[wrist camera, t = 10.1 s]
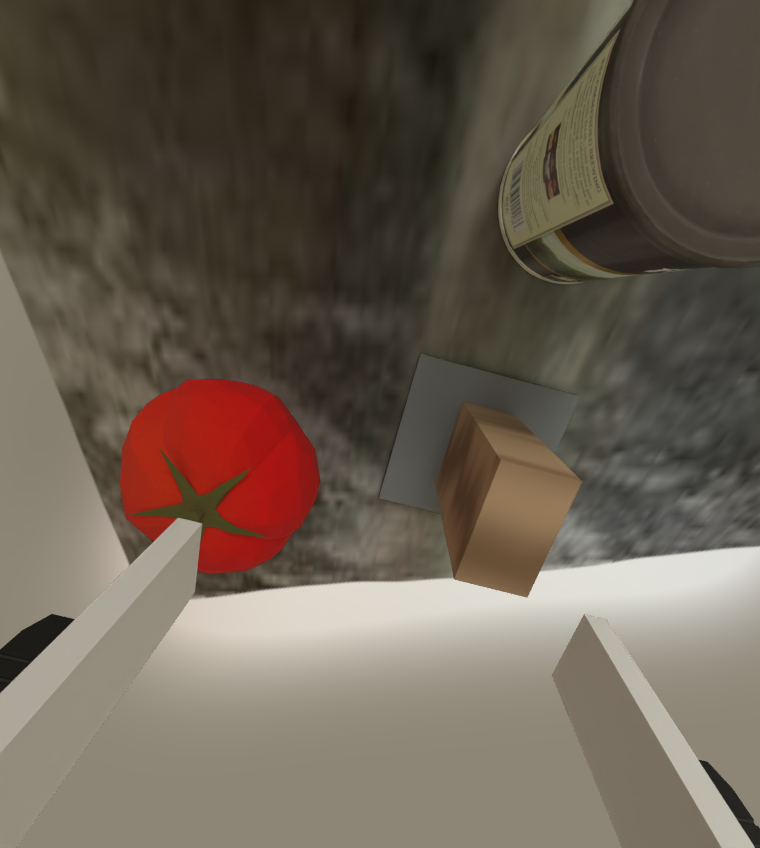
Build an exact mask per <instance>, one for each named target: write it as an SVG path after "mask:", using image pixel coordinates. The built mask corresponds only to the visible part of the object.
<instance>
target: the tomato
mask: <svg viewBox="0 0 760 848" xmlns="http://www.w3.org/2000/svg"><path fill="white" fill-rule="evenodd" d="M319 484H320V476H319V470H318V464H317V458H316V452H315V449H314V447H313V446H312V444H311V443H310V441H309V440H308V438H307V437H306V435H305V434H304V432H303V431H302V429H301V428H300V426H299V425H298V423H297V422H296V420H295V419H294V418H293V416H292V415H291V414H290V412H289V411H288V409H287V408H286V407H285V405H284V404H283V402H282V401H281V400H280V398H279V397H277V396H275V395H273V394H271V393H269V392H268V391H266V390H264V389H262V388H260V387H257V386H254V385H250V384H247V383H243V382H236V381H230V380H225V379H202V380H186V381H185V382H184V383H182V384H181V385H180V386H179V387H178V388H176V389H173V390H171V391H168V392H165V393H163V394H161V395H160V396H158V397H156V398H155V399H153V400H152V401H150V402H149V403H147V404H146V406H145V407H144V408H143V409H142V410H141V411H140V413H139V414H138V415H137V416H136V417H135V418H134V420H133V421H132V423H131V426H130V429H129V431H128V434H127V437H126V440H125V443H124V445H123V448H122V463H121V478H120V488H121V497H122V501H123V506H124V511H125V516H126V519H127V520H129V521H130V522H131V523H132V524H133V525H134V526H136V527H137V528H138V529H139V530H140V531H141V532H142V533H144V534H145V535H146V536H147V537H148V538H149V539H151V540H152V541H153V542H154V541H155V540H156V539H157V538H158V537H159V536H160V535H161V534H162V533H163V532H164V531H165V530H166V529H167V528H168V527H169V526H170V525H171V524H172V523H173V522H174V521H175V520H176V519H177V518H181V519H186V520H190V521H194V522H198V523H202V531H201V540H200V549H199V558H198V567H197V571H198V572H202V573H207V574H215V573H226V572H237V571H246V570H250V569H252V568H254V567H256V566H258V565H260V564H261V563H263V562H265V561H267V560H269V559H271V558H272V557H273V556H275V555H276V554H277V553H278V552H280V551H281V549H282V548H283V546H284V545H285V544H286V542H287V541H288V539H289V538H290V536H291V535H292V533H293V532H294V531H295V530H297V529H298V528H299V527H301V525H302V524H303V522H304V520H305V518H306V516H307V515H308V513H309V511H310V509H311V507H312V506H313V504H314V502H315V499H316V497H317V493H318V488H319Z"/></svg>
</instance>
